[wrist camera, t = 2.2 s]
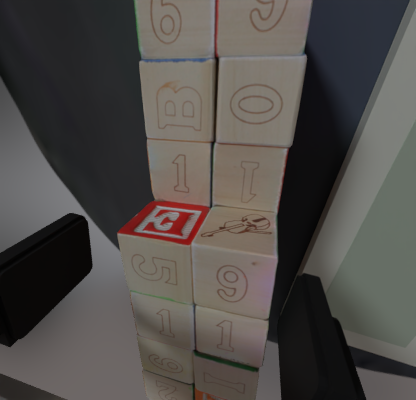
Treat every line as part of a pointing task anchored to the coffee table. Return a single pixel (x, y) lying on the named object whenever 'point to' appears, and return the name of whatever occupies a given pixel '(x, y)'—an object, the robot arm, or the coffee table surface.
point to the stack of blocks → (211, 188)
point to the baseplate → (375, 216)
